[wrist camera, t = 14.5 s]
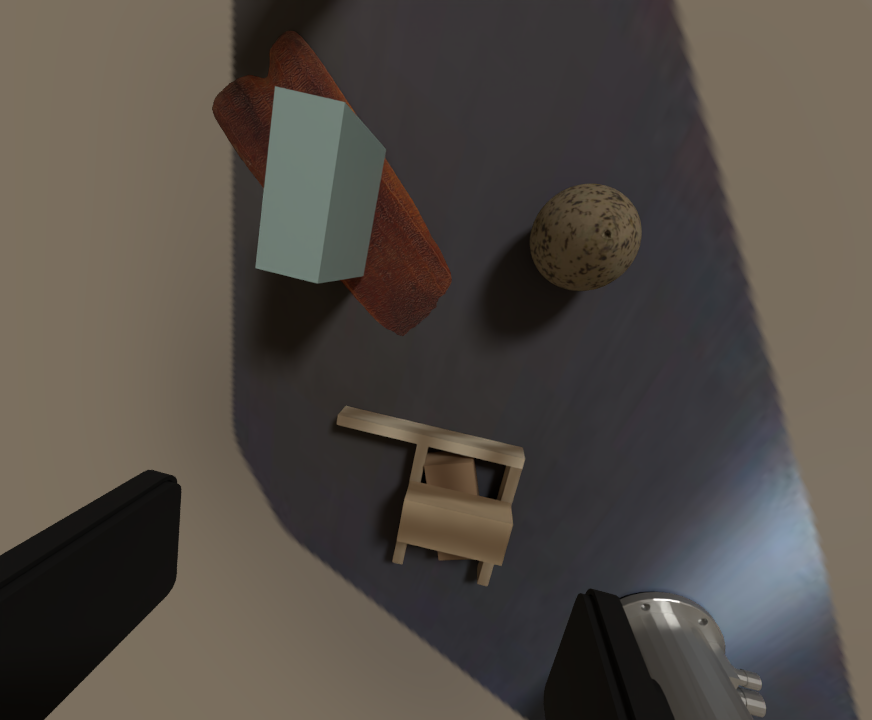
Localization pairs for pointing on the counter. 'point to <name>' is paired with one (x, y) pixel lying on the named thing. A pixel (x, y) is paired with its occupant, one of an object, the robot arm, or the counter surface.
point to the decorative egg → (585, 237)
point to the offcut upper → (455, 522)
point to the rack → (447, 442)
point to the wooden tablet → (395, 211)
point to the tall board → (318, 189)
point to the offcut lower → (451, 478)
